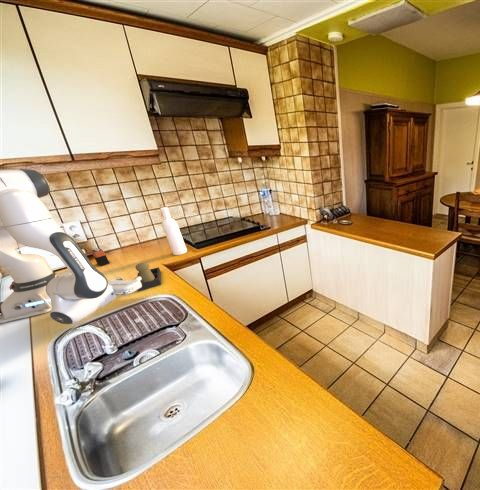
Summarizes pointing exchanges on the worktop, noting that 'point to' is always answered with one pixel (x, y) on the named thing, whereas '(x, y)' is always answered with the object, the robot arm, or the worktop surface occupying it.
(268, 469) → the worktop surface
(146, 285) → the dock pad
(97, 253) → the battery
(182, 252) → the bottle
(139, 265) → the cork
